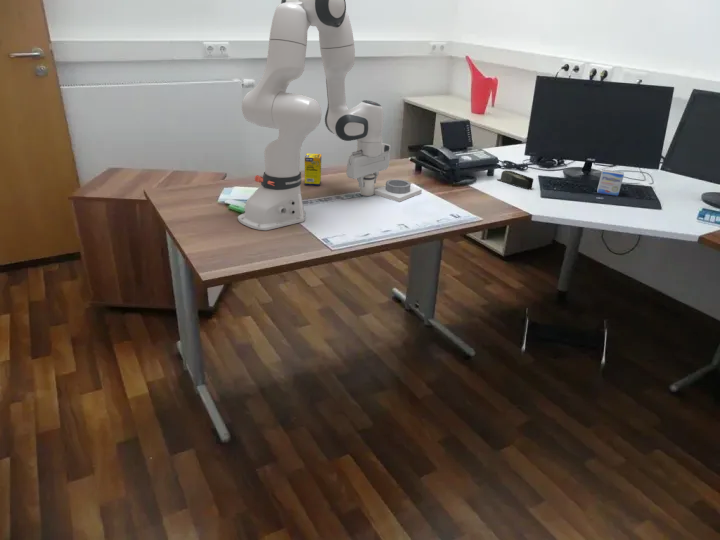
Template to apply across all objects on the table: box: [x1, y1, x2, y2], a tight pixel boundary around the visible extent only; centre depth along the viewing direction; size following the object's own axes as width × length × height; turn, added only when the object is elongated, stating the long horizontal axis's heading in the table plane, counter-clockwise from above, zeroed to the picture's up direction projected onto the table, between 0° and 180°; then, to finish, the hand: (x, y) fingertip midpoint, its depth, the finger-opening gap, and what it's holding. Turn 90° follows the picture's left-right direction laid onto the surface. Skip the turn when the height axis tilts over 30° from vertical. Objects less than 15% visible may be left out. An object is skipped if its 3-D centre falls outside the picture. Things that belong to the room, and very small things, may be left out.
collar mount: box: [373, 178, 423, 203], centre depth 206 cm, size 14×12×4 cm
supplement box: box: [304, 153, 322, 187], centre depth 210 cm, size 6×6×11 cm
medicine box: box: [596, 169, 625, 197], centre depth 216 cm, size 8×4×9 cm, turn 68°
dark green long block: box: [496, 170, 534, 190], centre depth 222 cm, size 5×3×15 cm
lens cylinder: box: [359, 174, 375, 197], centre depth 203 cm, size 5×5×7 cm
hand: (367, 185), depth 203 cm, fingers closed on lens cylinder, 5 cm apart
